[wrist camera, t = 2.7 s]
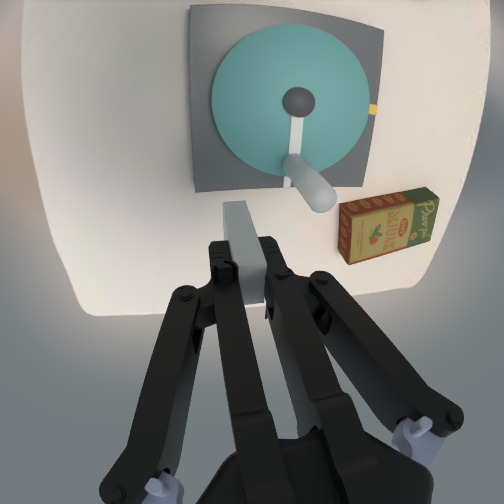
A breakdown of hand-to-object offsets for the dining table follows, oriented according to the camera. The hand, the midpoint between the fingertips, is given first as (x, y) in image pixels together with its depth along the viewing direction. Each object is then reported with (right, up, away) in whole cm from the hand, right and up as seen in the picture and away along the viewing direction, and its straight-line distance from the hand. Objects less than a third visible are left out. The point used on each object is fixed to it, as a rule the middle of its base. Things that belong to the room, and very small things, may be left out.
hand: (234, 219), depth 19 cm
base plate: (+5, +14, +7) cm, 17 cm away
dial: (+5, +13, +5) cm, 15 cm away
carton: (+21, +3, +20) cm, 29 cm away
